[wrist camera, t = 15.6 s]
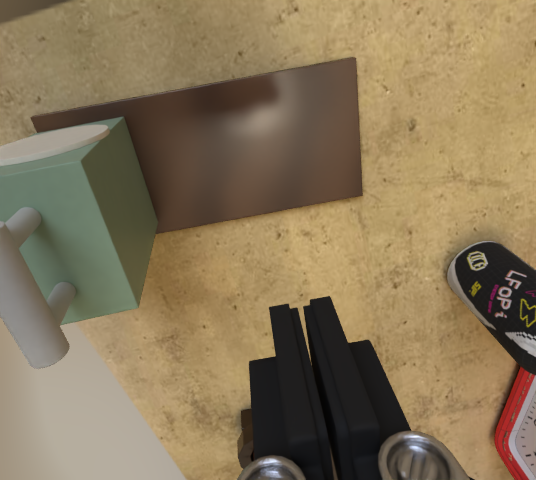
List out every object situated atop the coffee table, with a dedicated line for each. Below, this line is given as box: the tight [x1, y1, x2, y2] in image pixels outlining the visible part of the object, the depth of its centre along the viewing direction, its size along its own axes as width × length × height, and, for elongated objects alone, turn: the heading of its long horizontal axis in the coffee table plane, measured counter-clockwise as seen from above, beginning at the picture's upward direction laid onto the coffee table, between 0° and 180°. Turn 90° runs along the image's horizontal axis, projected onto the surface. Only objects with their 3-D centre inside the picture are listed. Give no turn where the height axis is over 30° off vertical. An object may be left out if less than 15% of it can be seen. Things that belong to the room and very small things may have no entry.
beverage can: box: [447, 241, 536, 375], centre depth 30 cm, size 6×6×12 cm
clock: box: [0, 117, 158, 368], centre depth 21 cm, size 6×8×15 cm
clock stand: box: [31, 57, 363, 234], centre depth 29 cm, size 22×10×1 cm, turn 99°
